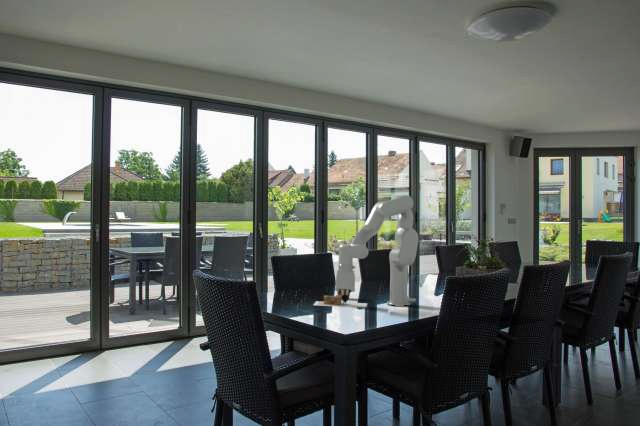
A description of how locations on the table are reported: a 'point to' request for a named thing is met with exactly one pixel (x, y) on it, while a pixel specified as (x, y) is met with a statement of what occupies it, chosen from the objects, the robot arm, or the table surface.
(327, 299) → the walnut T-block
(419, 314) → the table surface
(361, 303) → the push board
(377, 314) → the table surface
